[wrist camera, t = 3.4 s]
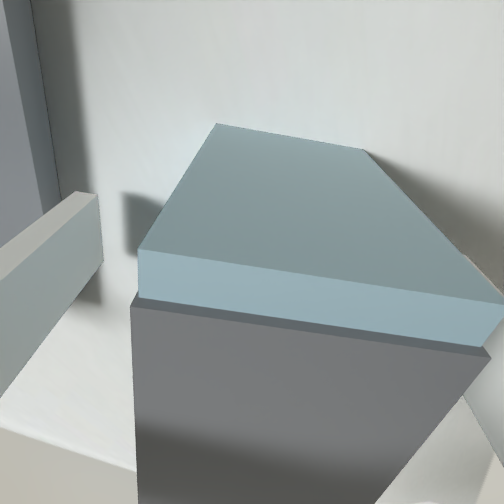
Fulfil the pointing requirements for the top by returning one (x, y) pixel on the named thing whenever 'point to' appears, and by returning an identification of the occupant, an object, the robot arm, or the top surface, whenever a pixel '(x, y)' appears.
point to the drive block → (295, 327)
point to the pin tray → (23, 126)
